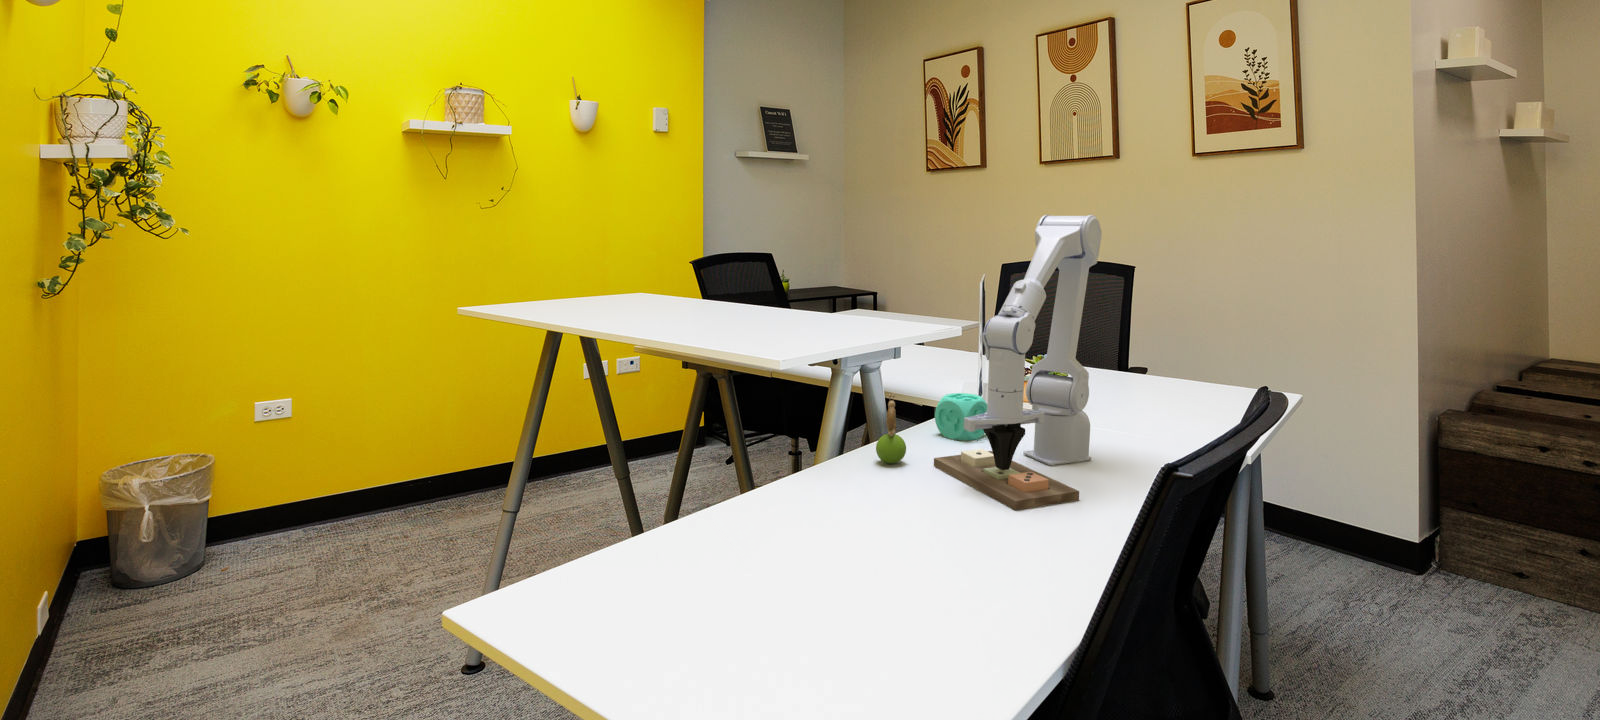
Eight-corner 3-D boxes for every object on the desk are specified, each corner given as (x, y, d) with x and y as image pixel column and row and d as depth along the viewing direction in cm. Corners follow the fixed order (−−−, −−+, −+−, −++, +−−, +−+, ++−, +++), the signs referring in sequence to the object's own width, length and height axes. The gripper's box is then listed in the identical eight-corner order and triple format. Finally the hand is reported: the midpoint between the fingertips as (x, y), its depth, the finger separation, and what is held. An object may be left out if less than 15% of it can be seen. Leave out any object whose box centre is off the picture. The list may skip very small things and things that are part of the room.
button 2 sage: (1004, 476, 141) (1005, 464, 141) (1020, 484, 137) (1021, 472, 137) (983, 479, 140) (983, 467, 139) (998, 487, 136) (998, 475, 135)
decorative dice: (958, 428, 173) (959, 391, 172) (989, 436, 167) (991, 397, 166) (933, 435, 168) (934, 396, 167) (965, 443, 162) (966, 403, 161)
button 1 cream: (981, 459, 147) (982, 448, 147) (996, 466, 143) (996, 455, 143) (960, 462, 146) (961, 451, 145) (974, 469, 142) (975, 457, 141)
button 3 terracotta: (1030, 483, 135) (1031, 470, 134) (1047, 491, 131) (1048, 478, 130) (1008, 486, 133) (1008, 474, 133) (1024, 495, 129) (1025, 482, 129)
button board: (990, 458, 151) (990, 450, 151) (1078, 500, 129) (1079, 491, 129) (933, 466, 147) (933, 457, 147) (1015, 510, 125) (1015, 500, 125)
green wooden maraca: (905, 457, 152) (906, 394, 150) (906, 467, 146) (907, 402, 144) (875, 456, 153) (876, 393, 151) (875, 467, 147) (876, 401, 145)
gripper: (1027, 380, 142) (1023, 456, 144) (954, 387, 137) (952, 466, 139) (1053, 388, 135) (1049, 468, 138) (978, 396, 130) (975, 478, 133)
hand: (1002, 468), depth 138 cm, fingers closed
